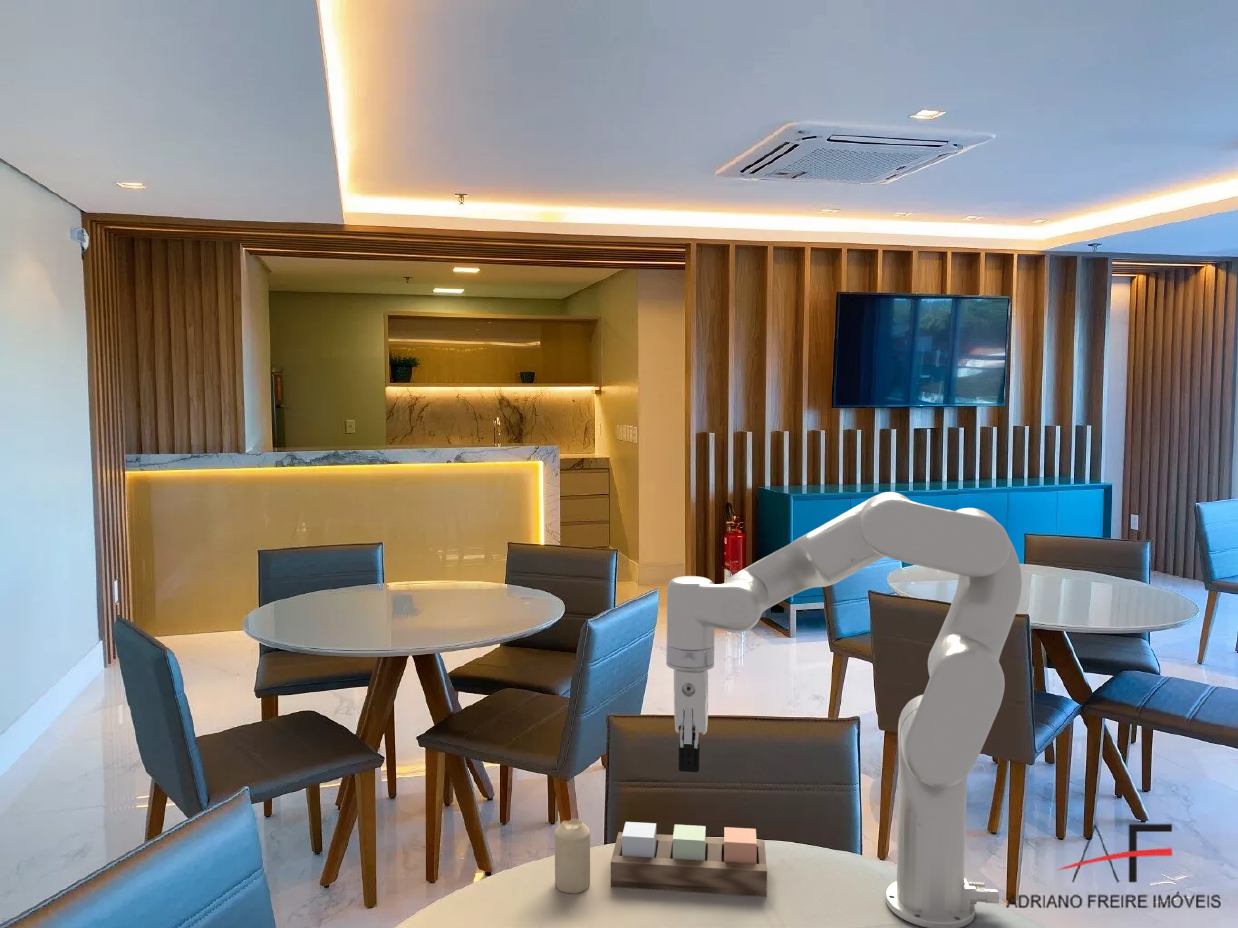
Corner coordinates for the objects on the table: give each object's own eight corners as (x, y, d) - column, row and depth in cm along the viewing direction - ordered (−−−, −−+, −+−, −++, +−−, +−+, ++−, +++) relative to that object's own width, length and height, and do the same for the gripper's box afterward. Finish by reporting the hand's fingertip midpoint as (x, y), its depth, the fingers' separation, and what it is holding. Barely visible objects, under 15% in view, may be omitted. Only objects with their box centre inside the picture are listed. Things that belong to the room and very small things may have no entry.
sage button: (705, 853, 146) (705, 826, 145) (704, 868, 141) (704, 840, 140) (674, 851, 146) (674, 824, 146) (672, 866, 141) (672, 838, 141)
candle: (550, 891, 139) (550, 828, 138) (561, 873, 144) (560, 812, 144) (584, 896, 137) (584, 832, 137) (594, 877, 143) (594, 816, 142)
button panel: (764, 864, 147) (764, 840, 147) (766, 896, 137) (767, 871, 137) (618, 855, 150) (618, 832, 150) (610, 886, 140) (610, 861, 140)
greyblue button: (656, 850, 147) (656, 823, 146) (653, 865, 142) (653, 837, 141) (625, 848, 147) (625, 821, 147) (622, 863, 142) (622, 836, 142)
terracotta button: (755, 856, 145) (755, 828, 144) (756, 871, 140) (756, 843, 139) (724, 854, 145) (724, 827, 145) (724, 869, 140) (724, 841, 140)
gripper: (713, 670, 134) (711, 791, 135) (715, 644, 149) (713, 753, 150) (662, 668, 135) (661, 788, 136) (669, 642, 149) (668, 751, 151)
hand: (689, 769), depth 143 cm, fingers closed
